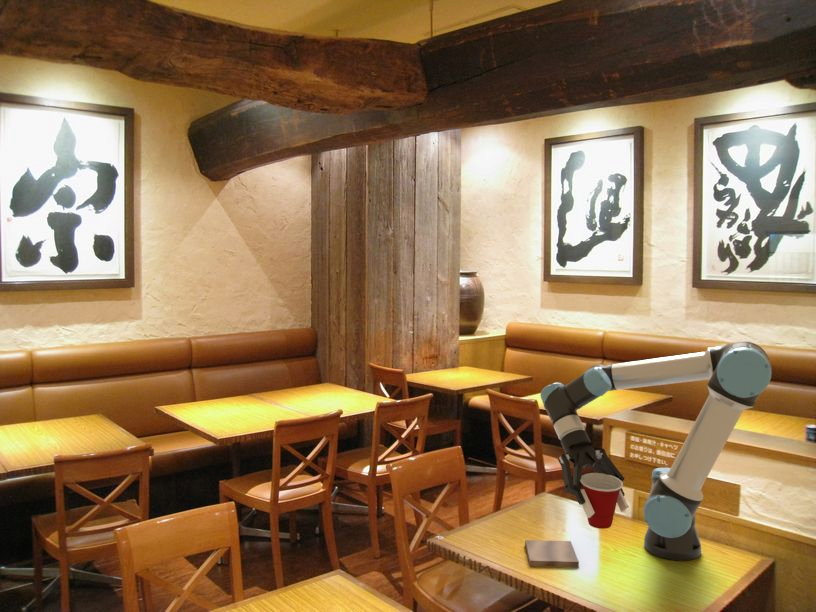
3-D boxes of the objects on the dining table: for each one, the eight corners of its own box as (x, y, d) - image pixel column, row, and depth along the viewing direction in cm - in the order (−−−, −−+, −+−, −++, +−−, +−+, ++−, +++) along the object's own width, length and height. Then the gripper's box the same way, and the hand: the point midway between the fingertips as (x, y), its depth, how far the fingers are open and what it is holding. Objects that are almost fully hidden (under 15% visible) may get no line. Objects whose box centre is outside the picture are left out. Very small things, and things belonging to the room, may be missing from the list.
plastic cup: (597, 536, 167) (598, 489, 166) (570, 520, 177) (570, 476, 176) (631, 528, 171) (632, 483, 170) (603, 513, 181) (603, 470, 180)
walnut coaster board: (570, 546, 195) (570, 541, 195) (578, 567, 182) (578, 561, 182) (525, 545, 196) (525, 540, 196) (530, 566, 183) (530, 560, 183)
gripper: (600, 438, 191) (636, 512, 178) (532, 447, 183) (564, 525, 170) (612, 424, 186) (651, 499, 172) (542, 432, 178) (577, 512, 164)
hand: (608, 512), depth 171 cm, fingers closed on plastic cup, 10 cm apart
